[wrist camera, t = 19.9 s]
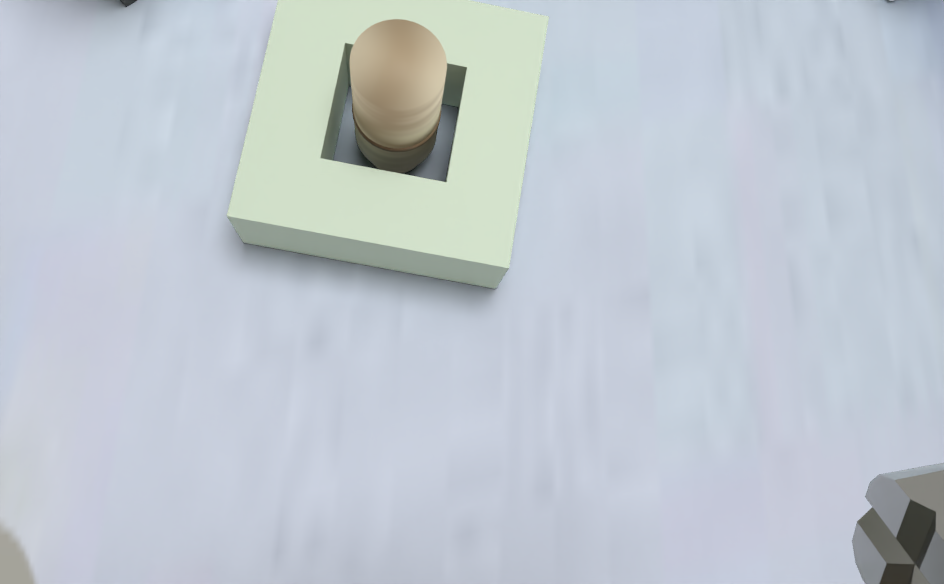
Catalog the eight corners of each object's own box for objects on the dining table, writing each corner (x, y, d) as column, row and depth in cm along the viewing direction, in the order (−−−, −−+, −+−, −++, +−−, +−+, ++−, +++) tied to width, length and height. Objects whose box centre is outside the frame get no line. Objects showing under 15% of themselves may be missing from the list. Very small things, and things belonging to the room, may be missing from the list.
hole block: (532, 60, 50) (549, 16, 45) (496, 288, 47) (508, 268, 42) (296, 13, 49) (287, -38, 44) (243, 242, 46) (226, 215, 41)
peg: (441, 116, 49) (455, 29, 39) (427, 190, 48) (438, 118, 38) (363, 101, 49) (358, 9, 39) (348, 175, 48) (339, 99, 38)
